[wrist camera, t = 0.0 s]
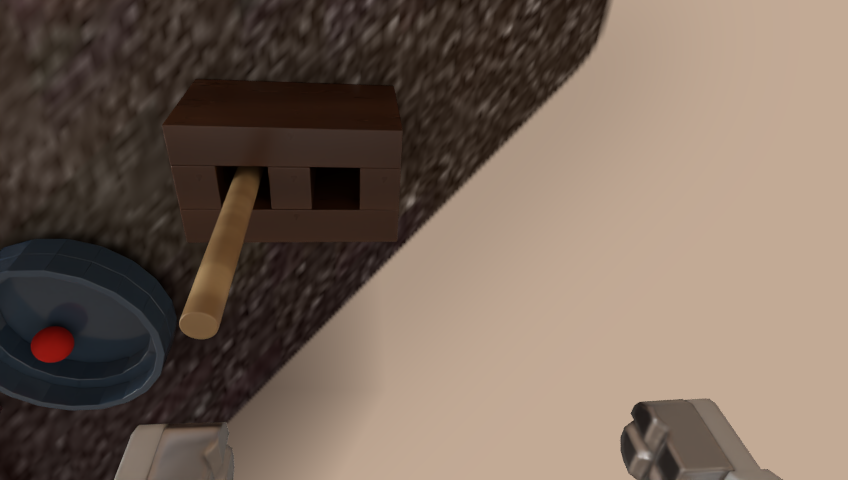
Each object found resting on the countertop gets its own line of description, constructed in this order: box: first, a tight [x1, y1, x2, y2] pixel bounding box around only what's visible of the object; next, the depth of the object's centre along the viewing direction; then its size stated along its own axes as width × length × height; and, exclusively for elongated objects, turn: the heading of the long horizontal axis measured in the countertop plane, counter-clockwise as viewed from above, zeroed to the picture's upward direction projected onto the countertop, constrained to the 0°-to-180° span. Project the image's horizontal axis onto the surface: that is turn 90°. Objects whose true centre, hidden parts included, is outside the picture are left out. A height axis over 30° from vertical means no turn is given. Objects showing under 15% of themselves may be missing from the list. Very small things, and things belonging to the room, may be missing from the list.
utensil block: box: [162, 79, 403, 243], centre depth 36 cm, size 8×14×8 cm, turn 86°
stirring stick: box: [179, 166, 265, 339], centre depth 31 cm, size 2×2×20 cm
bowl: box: [0, 239, 177, 410], centre depth 44 cm, size 15×15×5 cm
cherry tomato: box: [31, 326, 74, 363], centre depth 45 cm, size 3×3×3 cm
